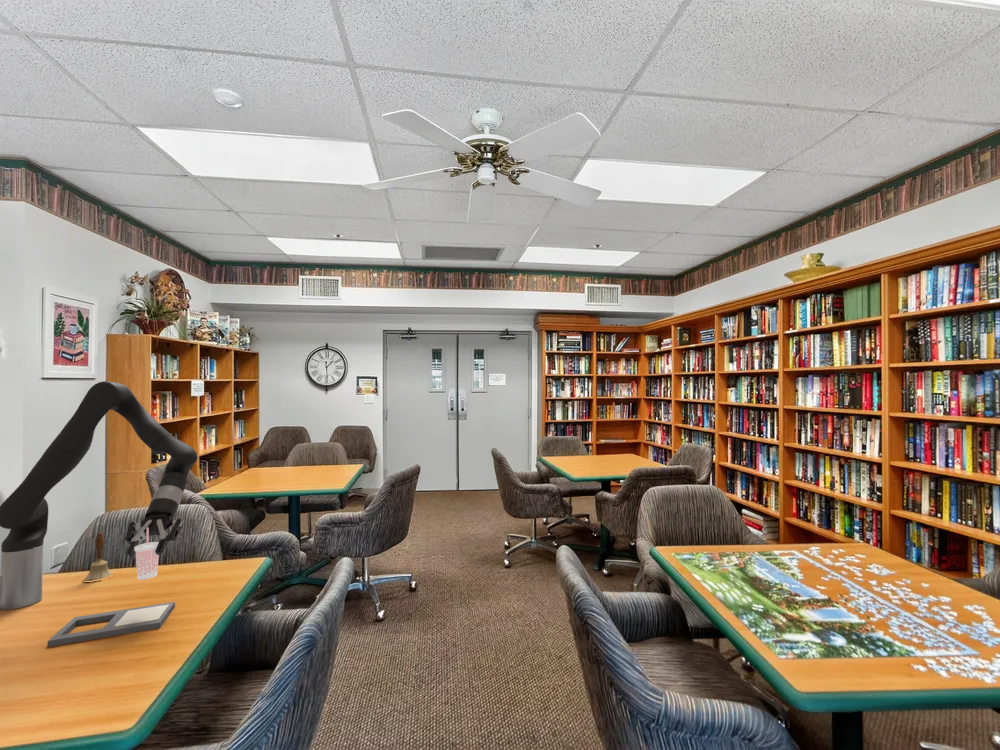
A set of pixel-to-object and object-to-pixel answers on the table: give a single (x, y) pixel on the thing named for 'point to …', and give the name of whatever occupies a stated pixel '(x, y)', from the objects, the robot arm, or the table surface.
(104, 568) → the hand bell
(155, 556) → the beverage cup
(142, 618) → the hole board
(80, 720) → the table surface
